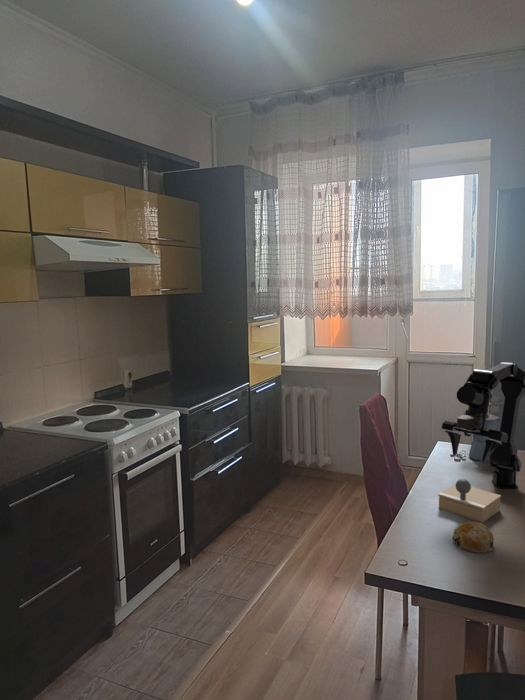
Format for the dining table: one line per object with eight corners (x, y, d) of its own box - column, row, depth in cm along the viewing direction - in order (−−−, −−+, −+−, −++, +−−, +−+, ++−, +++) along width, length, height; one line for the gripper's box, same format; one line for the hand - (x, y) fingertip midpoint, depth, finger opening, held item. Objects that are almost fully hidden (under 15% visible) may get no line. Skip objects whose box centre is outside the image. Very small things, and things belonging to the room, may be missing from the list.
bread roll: (482, 568, 136) (497, 546, 134) (446, 544, 141) (460, 522, 138) (488, 551, 145) (502, 530, 142) (454, 529, 149) (467, 507, 146)
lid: (456, 484, 171) (457, 464, 170) (501, 497, 161) (501, 476, 160) (437, 496, 163) (437, 475, 162) (482, 510, 152) (483, 488, 151)
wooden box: (456, 497, 172) (457, 485, 171) (499, 510, 161) (500, 498, 161) (438, 508, 164) (439, 496, 163) (482, 523, 153) (482, 510, 153)
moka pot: (503, 463, 201) (505, 413, 199) (461, 461, 204) (463, 412, 202) (497, 454, 211) (499, 407, 208) (457, 453, 214) (458, 406, 211)
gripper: (438, 400, 162) (428, 449, 161) (498, 410, 149) (488, 463, 147) (453, 406, 170) (444, 453, 168) (512, 416, 156) (503, 467, 155)
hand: (468, 458), depth 159 cm, fingers open, 9 cm apart
